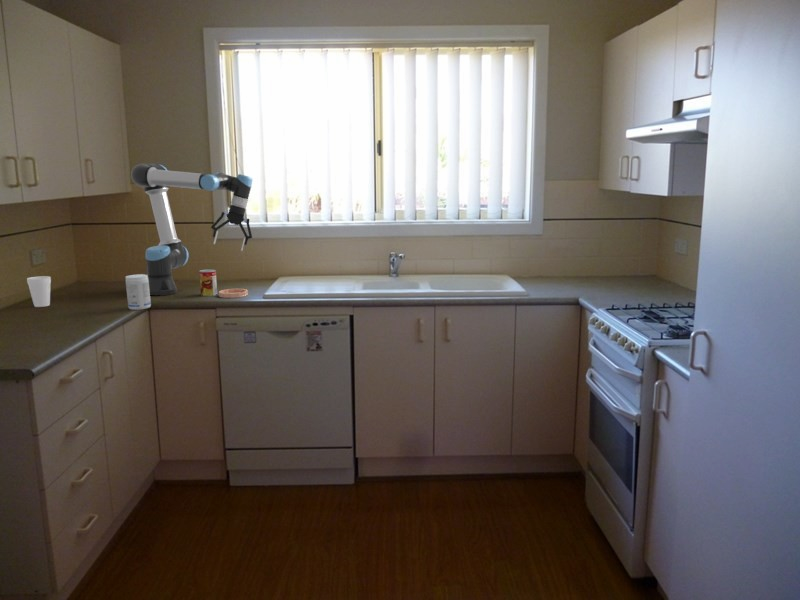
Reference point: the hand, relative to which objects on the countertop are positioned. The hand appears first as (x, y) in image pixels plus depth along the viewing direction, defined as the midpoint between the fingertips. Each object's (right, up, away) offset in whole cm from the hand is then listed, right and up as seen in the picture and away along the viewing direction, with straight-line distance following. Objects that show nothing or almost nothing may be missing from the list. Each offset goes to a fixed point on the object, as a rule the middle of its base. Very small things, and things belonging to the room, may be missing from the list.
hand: (228, 247), depth 327 cm
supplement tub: (-31, -30, -33) cm, 54 cm away
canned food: (-9, -24, -2) cm, 25 cm away
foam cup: (-79, -29, -25) cm, 88 cm away
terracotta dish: (+4, -24, -5) cm, 25 cm away
